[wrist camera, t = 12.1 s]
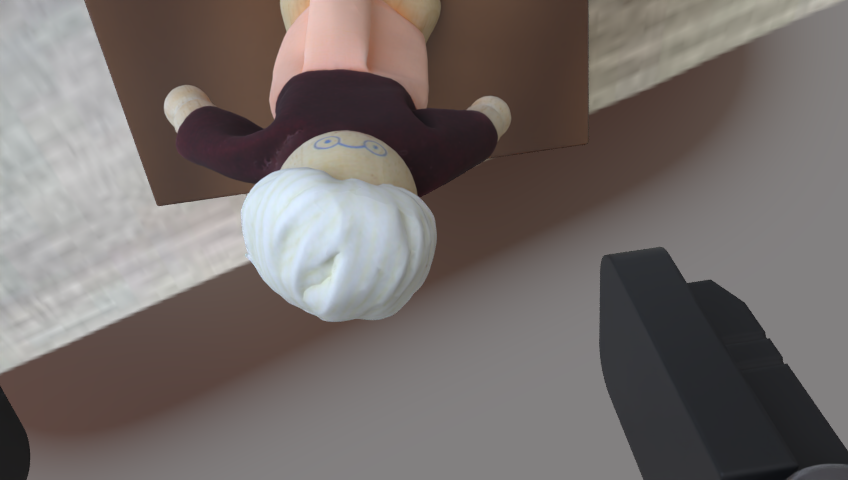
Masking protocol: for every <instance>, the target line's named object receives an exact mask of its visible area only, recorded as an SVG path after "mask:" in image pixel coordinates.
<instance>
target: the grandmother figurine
mask: <svg viewBox="0 0 848 480" xmlns="http://www.w3.org/2000/svg"><path fill="white" fill-rule="evenodd" d="M280 8H281V13H282V17H283V21H284V25H285V28H286V31H287V33H286V35H285V37H284V39H283V41H282V44H281V47H280V49H279V52H278V55H277V58H276V61H275V65H274V69H273V80H272V85H271V90H270V97H269V102H270V108H271V112H272V115H273V117H274V121H273V122H272V123H271V124H270V125H269V126H268V127H267V128H265V129H263V128H262V127H260V126H258V125H256V124H255V123H253V122H251V121H250V120H248V119H246V118H245V117H242V116H240V115H237V114H235V113H232V112H230V111H227V110H223V109H221V108H218V107H216V106H215V105H213V104H212V102H211V101H210V99H209V98H208V96H207V95H206V94H205V93H204V92H203V91H202V90H200V89H199V88H197V87H195V86H191V85H182V86H179V87H176V88H175V89H173V90H172V91H171V92H170V93H169V94H168V95H167V97H166V99H165V102H164V112H165V115H166V117H167V119H168V120H169V122H170V123H171V124H172V125H173V126H174V127H175V130H176V132H177V136H176V148H177V151H178V153H179V154H180V155H181V156H182V157H183V158H185V159H187V160H188V161H190V162H192V163H195V164H197V165H200V166H204V167H206V168H208V169H211V170H213V171H215V172H217V173H220V174H222V175H224V176H226V177H228V178H231V179H234V180H238V181H242V182H246V183H252V184H255V186H254V187H253V188H252V189H251V190H250V192H249V194H248V195H247V197H246V199H245V201H244V204H243V207H242V210H241V221H242V231H243V236H244V240H245V245H246V248H247V251H248V253H249V254H246V257H247V258H248V259H249V260H250V261H251V262H252V263H253V264H254V265H255V267H256V269H257V271H258V272H259V274H260V276H261V278H262V279H263V280H264V281H265V282H266V283H267V284H268V285H269V286H270V287H271V289H272V290H274V291H275V292H276V293H278V294H279V295H281V296H282V297H283V298H284V299H285V300H286V301H287V302H289V303H290V304H293V305H295V306H297V307H299V308H301V309H303V310H304V311H306V312H308V313H310V314H313V315H316V316H318V317H319V318H320V319H321V320H324V321H329V322H340V321H346V320H352V319H365V320H378V319H383V318H386V317H389V316H392V315H393V314H395V313H396V312H397V311H399V310H400V309H401V308H402V307H403V306H404V305H405V304H406V303H407V301H409V300H410V299H411V297H412V295H413V293H414V292H416V291H417V290H418V289H419V288H420V287H421V285H422V284H423V283H424V281H425V279H426V277H427V275H428V273H429V270H430V267H431V263H432V260H433V256H434V252H435V247H436V242H437V233H436V225H435V219H434V216H433V214H432V212H431V211H430V209H429V208H428V206H427V205H426V204H425V203H424V202H423V201H422V200H421V198H420V197H422V196H423V195H426V194H428V193H429V192H431V191H433V190H435V189H437V188H438V187H440V186H442V185H444V184H446V183H448V182H450V181H451V180H453V179H455V178H456V177H458V176H460V175H461V174H463V173H465V172H466V171H467V170H469V169H471V168H473V167H474V166H476V165H478V164H480V163H481V162H483V161H484V160H486V159H487V158H488V157H490V156H491V155H492V153H493V152H494V150H495V148H496V145H497V142H498V140H499V139H500V137H501V136H502V135H503V134H504V133H505V132H506V131H507V129H508V128H509V125H510V123H511V113H510V109H509V107H508V105H507V104H506V103H505V102H504V101H503V100H502V99H500V98H498V97H495V96H484V97H482V98H480V99H478V100H476V101H475V102H474V103H473V104H472V105H471V107H469V108H468V109H467V110H454V109H437V108H427V104H428V92H429V84H428V59H427V50H426V42H427V40H428V38H429V37H430V35H431V33H432V31H433V29H434V27H435V25H436V23H437V21H438V19H439V16H440V11H441V2H440V0H280Z"/></svg>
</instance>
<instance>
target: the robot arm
mask: <svg viewBox="0 0 848 480" xmlns="http://www.w3.org/2000/svg"><path fill="white" fill-rule="evenodd" d="M599 341H600V342H599V344H600V345H599V346H600V358H601V365H602V371H603V375H604V379H605V383H606V387H607V390H608V393H609V395H610V398H611V400H612V403H613V405H614V408H615V410H616V413H617V415H618V418H619V420H620V423H621V425H622V428H623V430H624V433H625V435H626V438H627V440H628V442H629V445H630V447H631V450H632V452H633V455H634V457H635V460H636V462H637V465H638V467H639V470H640V472H641V475H642V477H643V480H848V451H847V449H846V448H845V446H844V445H843V443H842V442H841V441H840V439H839V438H838V436H837V435H836V433H835V432H834V431H833V429H832V428H831V426H830V425H829V423H828V422H827V420H826V419H825V417H824V416H823V415H822V413H821V412H820V410H819V409H818V407H817V406H816V405H815V404H814V402H813V400H812V399H811V397H810V396H809V395H808V393H807V392H806V390H805V389H804V387H803V386H802V384H801V383H800V382H799V380H798V379H797V377H796V376H795V374H794V373H793V371H792V370H791V369H790V367H789V366H788V364H784V363H783V357H782V356H781V354H780V353H779V351H778V350H777V348H776V347H775V346H774V344H773V343H772V341H771V340H770V339H767V338H766V335H765V331H764V330H763V328H762V327H761V326H760V324H759V323H758V321H757V320H756V319H755V317H754V315H753V314H752V312H751V311H750V310H749V308H748V307H747V305H746V304H745V303H744V302H743V301H741V300H740V299H738V298H737V297H736V296H734V295H733V294H731V293H729V292H728V291H727V290H725V289H724V288H722V287H721V286H719V285H718V284H716V283H715V282H713V281H712V280H705V281H698V282H692V283H686V281H685V279H684V278H683V276H682V274H681V273H680V271H679V270H678V268H677V266H676V265H675V263H674V262H673V260H672V258H671V257H670V255H669V254H668V252H667V251H666V250H665V249H664V248H662V247H656V248H650V249H643V250H637V251H629V252H623V253H616V254H609V255H604V256H603V258H602V261H601V269H600V339H599ZM29 467H30V448H29V441H28V437H27V434H26V432H25V429H24V428H23V426H22V424H21V422H20V420H19V418H18V417H17V415H16V413H15V411H14V410H13V408H12V406H11V404H10V403H9V401H8V399H7V397H6V395H5V394H4V392H3V390H2V388H1V387H0V480H26V479H27V476H28V472H29Z"/></svg>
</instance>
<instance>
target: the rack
mask: <svg viewBox="0 0 848 480" xmlns="http://www.w3.org/2000/svg"><path fill="white" fill-rule="evenodd" d="M84 1H85V4H86V7H87V9H88V12H89V15H90V18H91V21H92V23H93V26H94V29H95V32H96V35H97V38H98V40H99V43H100V46H101V49H102V52H103V54H104V57H105V60H106V63H107V66H108V69H109V71H110V74H111V77H112V80H113V83H114V85H115V88H116V91H117V94H118V97H119V100H120V102H121V105H122V108H123V111H124V114H125V116H126V119H127V122H128V125H129V128H130V131H131V133H132V136H133V139H134V142H135V145H136V147H137V150H138V153H139V156H140V159H141V161H142V164H143V167H144V170H145V173H146V176H147V178H148V181H149V184H150V187H151V190H152V192H153V195H154V198H155V201H156V204H157V205H158V206H163V205H170V204H177V203H184V202H191V201H198V200H205V199H212V198H219V197H226V196H232V195H239V194H246V193H249V192H250V190H251V189H252V188H253V187H254V186H255V184H252V183H246V182H242V181H238V180H234V179H231V178H228V177H226V176H224V175H222V174H220V173H217V172H215V171H213V170H211V169H208V168H206V167H204V166H200V165H197V164H195V163H192V162H190V161H188V160H187V159H185V158H183V157H182V156H181V155H180V154H179V153H178V151H177V148H176V136H177V132H176V130H175V127H174V126H173V125H172V124H171V123H170V122H169V120H168V119H167V117H166V115H165V112H164V102H165V99H166V97H167V95H168V94H169V93H170V92H171V91H172V90H173V89H175V88H176V87H179V86H182V85H191V86H195V87H197V88H199V89H200V90H202V91H203V92H204V93H205V94H206V95H207V96H208V98H209V99H210V101H211V102H212V104H213V105H215V106H216V107H218V108H221V109H223V110H227V111H230V112H232V113H235V114H237V115H240V116H242V117H245V118H246V119H248V120H250V121H251V122H253V123H255V124H256V125H258V126H260V127H262V128H263V129H265V128H267V127H268V126H269V125H270V124H271V123H272V122H273V121H274V117H273V115H272V112H271V108H270V102H269V97H270V90H271V85H272V80H273V69H274V65H275V61H276V58H277V55H278V52H279V49H280V47H281V44H282V41H283V39H284V37H285V35H286V33H287V31H286V28H285V25H284V21H283V17H282V13H281V8H280V0H84ZM440 2H441V11H440V16H439V19H438V21H437V23H436V25H435V27H434V29H433V31H432V33H431V35H430V37H429V38H428V40H427V42H426V50H427V59H428V84H429V92H428V104H427V108H437V109H454V110H467V109H468V108H469V107H471V105H472V104H473V103H474V102H475V101H476V100H478V99H480V98H482V97H484V96H495V97H498V98H500V99H502V100H503V101H504V102H505V103H506V104H507V105H508V107H509V109H510V113H511V123H510V125H509V128H508V129H507V131H506V132H505V133H504V134H503V135H502V136H501V137H500V139H499V140H498V142H497V145H496V148H495V150H494V152H493V153H492V155H491V156H490V157H488V158H495V157H502V156H509V155H515V154H523V153H530V152H536V151H542V150H550V149H557V148H564V147H571V146H577V145H585V144H588V142H589V16H588V0H440ZM488 158H487V159H488Z"/></svg>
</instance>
